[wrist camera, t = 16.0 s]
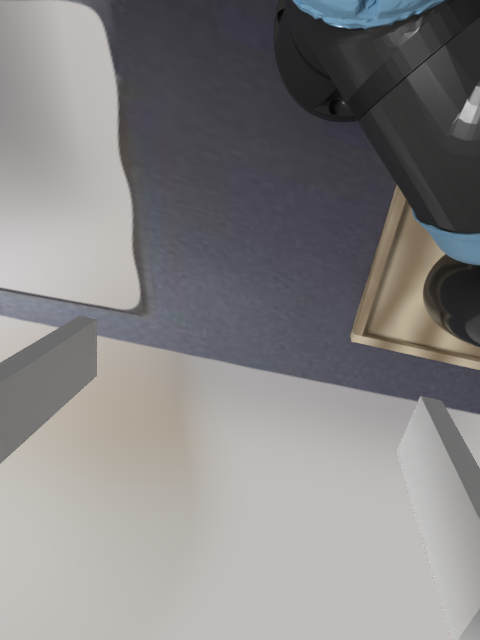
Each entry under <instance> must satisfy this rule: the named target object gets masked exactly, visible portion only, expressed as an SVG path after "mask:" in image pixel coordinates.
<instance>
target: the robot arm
mask: <svg viewBox="0 0 480 640" xmlns="http://www.w3.org/2000/svg"><path fill="white" fill-rule="evenodd" d="M274 50H275V57H276V61H277V65H278V69H279V72H280V75H281V77H282V80H283V82H284V84H285V86H286V88H287V90H288V92H289V93H290V95H291V96H292V97H293V99H294V100H295V101H296V102H297V103H298V104H299V105H300V106H301V107H302V108H304V109H305V110H306V111H308V112H309V113H311V114H313V115H315V116H317V117H319V118H322V119H325V120H329V121H335V122H349V121H356V120H358V123H359V125H360V126H361V128H362V129H363V131H364V133H365V134H366V136H367V137H368V139H369V141H370V142H371V144H372V145H373V147H374V149H375V150H376V152H377V153H378V155H379V157H380V158H381V160H382V161H383V163H384V165H385V166H386V168H387V169H388V171H389V173H390V174H391V176H392V177H393V179H394V181H395V182H396V184H397V185H398V187H399V189H400V190H401V192H402V193H403V195H404V197H405V198H406V200H407V201H408V203H409V205H410V206H411V208H412V213H413V216H414V218H415V220H416V221H417V222H419V223H420V225H421V226H422V227H423V228H425V229H426V230H427V231H428V233H429V234H430V235H431V237H432V238H433V240H434V241H435V242H436V244H437V245H438V247H439V248H440V249H441V250H442V251H443V252H444V253H445V254H447V255H448V256H449V257H451V258H453V259H455V260H458V261H461V262H464V263H468V264H473V265H480V0H279V3H278V7H277V12H276V17H275V25H274ZM96 375H97V320H96V319H92V318H87V317H83V316H79V317H77V318H75V319H73V320H72V321H70V322H68V323H67V324H65V325H63V326H62V327H60V328H58V329H57V330H55V331H53V332H52V333H50V334H48V335H46V336H45V337H43V338H41V339H40V340H38V341H36V342H35V343H33V344H32V345H30V346H28V347H26V348H24V349H23V350H21V351H20V352H18V353H16V354H14V355H13V356H11V357H9V358H8V359H6V360H4V361H3V362H1V363H0V463H1V462H2V461H4V460H5V459H6V458H7V457H8V456H9V455H10V454H11V453H12V452H14V451H15V450H16V449H17V448H18V447H19V446H20V445H21V444H22V443H23V442H25V441H26V440H27V439H28V438H29V437H30V436H31V435H32V434H33V433H34V432H35V431H37V430H38V429H39V428H40V427H41V426H42V425H43V424H44V423H45V422H46V421H48V420H49V419H50V418H51V417H52V416H53V415H54V414H55V413H56V412H57V411H58V410H60V409H61V408H62V407H63V406H64V405H65V404H66V403H67V402H68V401H69V400H70V399H72V398H73V397H74V396H75V395H76V394H77V393H78V392H79V391H80V390H82V389H83V388H84V387H85V386H86V385H87V384H88V383H89V382H90V381H91V380H93V379H94V378H95V377H96ZM397 455H398V459H399V462H400V465H401V469H402V472H403V476H404V479H405V482H406V486H407V489H408V493H409V496H410V500H411V503H412V507H413V510H414V513H415V517H416V520H417V523H418V527H419V530H420V534H421V537H422V541H423V544H424V547H425V551H426V554H427V558H428V561H429V564H430V568H431V571H432V575H433V578H434V582H435V585H436V588H437V592H438V595H439V598H440V602H441V605H442V609H443V612H444V616H445V619H446V622H447V626H448V629H449V633H450V636H451V639H452V640H480V469H479V467H478V465H477V463H476V461H475V459H474V458H473V456H472V454H471V452H470V451H469V449H468V447H467V445H466V443H465V442H464V440H463V438H462V436H461V435H460V433H459V431H458V429H457V427H456V426H455V424H454V422H453V420H452V418H451V417H450V415H449V413H448V411H447V409H446V408H445V406H444V404H443V402H442V401H440V400H436V399H432V398H428V397H423V396H420V398H419V400H418V403H417V405H416V408H415V410H414V412H413V415H412V417H411V419H410V422H409V424H408V426H407V429H406V431H405V433H404V436H403V438H402V441H401V443H400V445H399V447H398V450H397Z"/></svg>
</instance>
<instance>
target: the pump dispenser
mask: <svg viewBox="0 0 480 640" xmlns="http://www.w3.org/2000/svg"><path fill="white" fill-rule="evenodd" d="M423 302H424V306H425V309H426V311H427V313H428V314H429V316H430V317H431V319H432V320H433V321H434V322H435V323H436V324H437V325H438V326H439V327H440V328H442V329H443V330H444V331H446V332H447V333H449V334H450V335H452V336H453V337H455V338H457V339H459V340H461V341H463V342H465V343H467V344H469V345H472V346H474V347H477V348H480V265H473V264H468V263H464V262H461V261H458V260H455V259H453V258H451V257H449V256H448V255H447V254H445V255H444V256H442V257H441V258H440V259H439V260H438V261H437V262H436V263H435V264H434V266H433V267H432V268H431V270H430V272H429V273H428V275H427V277H426V280H425V283H424V287H423Z"/></svg>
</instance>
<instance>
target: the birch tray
mask: <svg viewBox="0 0 480 640" xmlns="http://www.w3.org/2000/svg"><path fill="white" fill-rule="evenodd" d="M444 255H445V253H444V252H443V251H442V250H441V249H440V248H439V247H438V245H437V244H436V242H435V241H434V240H433V238H432V237H431V235H430V234H429V233H428V231H427V230H426V229H425V228H423V227H422V226H421V225H420V223H419V222H417V221H416V220H415V218H414V216H413V213H412V208H411V206H410V205H409V203H408V201H407V200H406V198H405V197H404V195H403V193H402V192H401V190H400V189H399V187H398V185H396V188H395V192H394V195H393V198H392V201H391V204H390V208H389V211H388V214H387V217H386V221H385V224H384V227H383V230H382V234H381V237H380V240H379V243H378V247H377V250H376V253H375V256H374V259H373V263H372V266H371V269H370V272H369V276H368V279H367V282H366V285H365V289H364V292H363V295H362V298H361V302H360V305H359V308H358V311H357V314H356V318H355V321H354V324H353V327H352V331H351V334H350V337H351V341H352V342H356V343H361V344H365V345H370V346H374V347H379V348H383V349H388V350H392V351H397V352H401V353H406V354H410V355H415V356H419V357H423V358H428V359H432V360H437V361H441V362H446V363H450V364H455V365H459V366H464V367H468V368H473V369H477V370H480V348H477V347H474V346H472V345H469V344H467V343H465V342H463V341H461V340H459V339H457V338H455V337H453V336H452V335H450V334H449V333H447V332H446V331H444V330H443V329H442V328H440V327H439V326H438V325H437V324H436V323H435V322H434V321H433V320H432V319H431V317H430V316H429V314H428V313H427V311H426V309H425V306H424V302H423V287H424V283H425V280H426V277H427V275H428V273H429V272H430V270H431V268H432V267H433V266H434V264H435V263H436V262H437V261H438V260H439V259H440V258H441V257H442V256H444Z"/></svg>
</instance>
